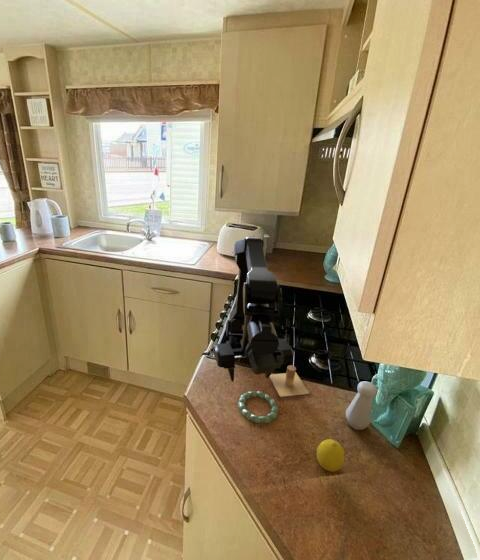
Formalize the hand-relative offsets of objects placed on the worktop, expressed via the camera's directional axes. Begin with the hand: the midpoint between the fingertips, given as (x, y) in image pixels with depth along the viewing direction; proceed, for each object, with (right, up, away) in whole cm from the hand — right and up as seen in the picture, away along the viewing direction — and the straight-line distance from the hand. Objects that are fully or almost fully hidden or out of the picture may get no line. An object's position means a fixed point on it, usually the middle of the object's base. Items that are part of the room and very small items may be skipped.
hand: (249, 378), depth 80 cm
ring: (+3, -9, +5) cm, 11 cm away
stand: (+14, -6, +13) cm, 20 cm away
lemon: (+16, -17, -9) cm, 25 cm away
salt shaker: (+28, -12, +2) cm, 31 cm away
